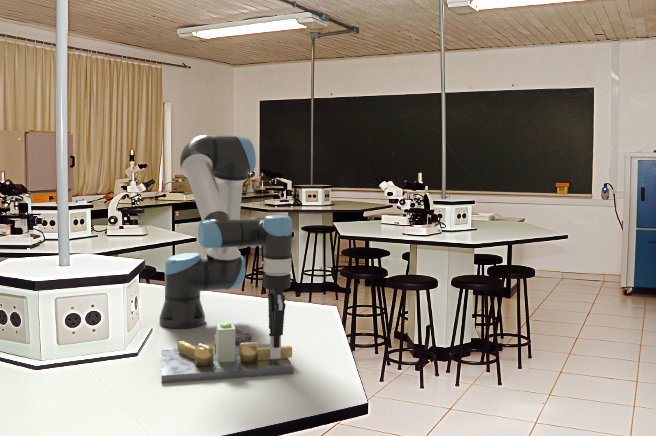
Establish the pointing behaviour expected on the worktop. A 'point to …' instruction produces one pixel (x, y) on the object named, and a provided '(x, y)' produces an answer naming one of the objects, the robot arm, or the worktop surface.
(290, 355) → the knob
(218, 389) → the worktop surface
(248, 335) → the rock
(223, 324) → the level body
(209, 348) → the knob
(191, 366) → the grey knob board
